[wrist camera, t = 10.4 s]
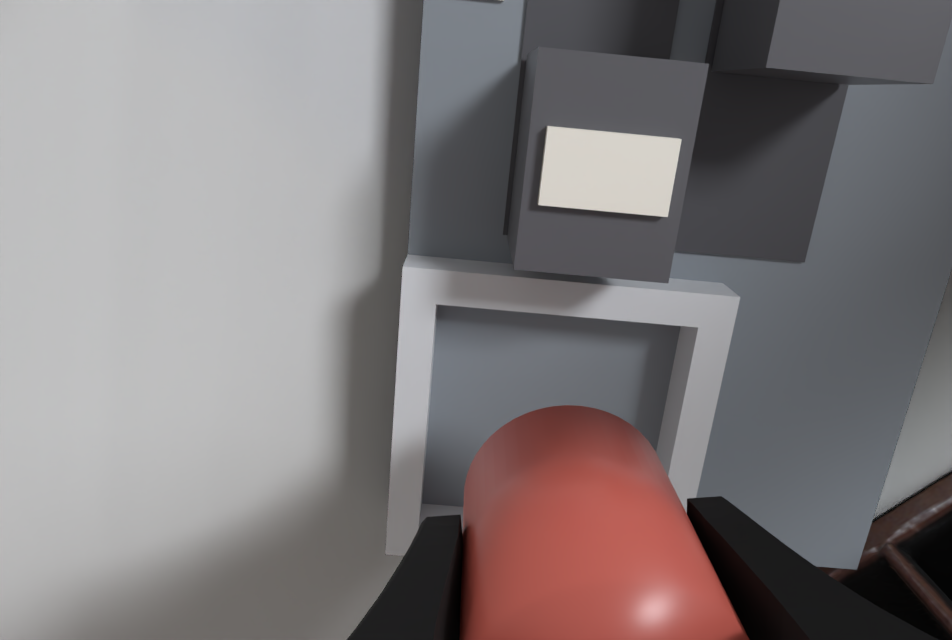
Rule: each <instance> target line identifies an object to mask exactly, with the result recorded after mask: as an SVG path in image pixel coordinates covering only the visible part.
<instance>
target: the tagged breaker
mask: <svg viewBox="0 0 952 640" xmlns="http://www.w3.org/2000/svg"><path fill="white" fill-rule="evenodd" d="M708 68H709V64H707V63H697V62H687V61H677V60H667V59H657V58H647V57H637V56H627V55H617V54H607V53H597V52H587V51H577V50H567V49H557V48H546V47H538V48H536V49H535V50H533V51H532V52H530V53H529V54H527V59H526V69H525V78H524V87H523V96H522V106H521V115H520V124H519V133H518V143H517V152H516V161H515V170H514V180H513V189H512V198H511V207H510V217H509V226H508V235H507V239H508V244H509V249H510V254H511V259H512V264H513V269H514V270H524V271H535V272H546V273H557V274H568V275H579V276H590V277H601V278H612V279H623V280H634V281H646V282H657V283H669V277H670V272H671V267H672V261H673V256H674V251H675V245H676V240H677V234H678V229H679V224H680V218H681V213H682V208H683V202H684V197H685V191H686V186H687V181H688V175H689V170H690V165H691V159H692V154H693V148H694V143H695V138H696V132H697V127H698V121H699V116H700V111H701V105H702V100H703V95H704V89H705V84H706V78H707V73H708Z"/></svg>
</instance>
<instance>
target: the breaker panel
mask: <svg viewBox="0 0 952 640" xmlns="http://www.w3.org/2000/svg"><path fill="white" fill-rule="evenodd" d="M724 1H725V0H424V3H423V18H422V34H421V50H420V66H419V82H418V98H417V114H416V130H415V146H414V162H413V177H412V193H411V209H410V225H409V241H408V255H407V257H406V260H405V262H404V265H403V268H402V284H401V301H400V317H399V334H398V350H397V367H396V383H395V399H394V416H393V432H392V449H391V465H390V481H389V498H388V514H387V531H386V547H385V555H397V556H405V554H406V552H407V550H408V548H409V547H410V545H411V543H412V541H413V539H414V537H415V535H416V533H417V531H418V529H419V527H420V525H421V523H422V522H423V521H424V520H425V518H426V517H432V516H446V515H460V514H461V524H462V534H463V505H464V486H465V481H466V476H467V473H468V470H469V468H470V465H471V463H472V461H473V459H474V457H475V455H476V453H477V452H478V451H479V449H480V448H481V447H482V445H483V444H484V443H485V442H486V441H487V439H488V438H489V437H490V436H491V435H492V434H493V433H495V432H496V431H497V430H498V429H500V428H501V427H502V426H503V425H505V424H507V423H508V422H510V421H511V420H513V419H515V418H517V417H519V416H521V415H523V414H526V413H528V412H531V411H534V410H538V409H541V408H546V407H552V406H562V405H575V406H585V407H591V408H596V409H599V410H603V411H606V412H609V413H611V414H613V415H615V416H618V417H620V418H621V419H623V420H625V421H626V422H628V423H630V424H631V425H632V426H633V427H635V428H636V429H637V430H638V431H640V432H641V433H642V435H643V436H644V437H645V438H646V439H647V440H648V441H649V442H650V444H651V445H652V447H653V448H654V450H655V451H656V453H657V455H658V457H659V459H660V461H661V463H662V465H663V467H664V469H665V471H666V473H667V475H668V477H669V479H670V481H671V483H672V485H673V487H674V489H675V491H676V493H677V495H678V497H679V499H680V501H681V503H682V505H683V507H684V509H685V511H686V513H687V499H688V498H702V497H716V496H722V497H723V498H725V499H726V500H728V501H729V502H730V503H732V504H733V505H734V506H736V507H737V508H738V509H739V510H741V511H742V512H743V513H745V514H746V515H747V516H749V517H750V518H751V519H752V520H754V521H755V522H756V523H758V524H759V525H760V526H761V527H763V528H764V529H765V530H767V531H768V532H769V533H771V534H772V535H773V536H775V537H776V538H777V539H779V540H780V541H781V542H783V543H784V544H785V545H787V546H788V547H789V548H791V549H792V550H793V551H795V552H796V553H798V554H799V555H800V556H802V557H803V558H804V559H806V560H807V561H809V562H810V563H812V564H813V565H814V566H816V567H829V568H841V569H854V570H857V568H858V565H859V561H860V558H861V555H862V552H863V549H864V546H865V543H866V539H867V536H868V533H869V530H870V527H871V524H872V520H873V517H874V514H875V511H876V508H877V505H878V501H879V498H880V495H881V492H882V489H883V486H884V483H885V479H886V476H887V473H888V470H889V467H890V464H891V460H892V457H893V454H894V451H895V448H896V445H897V441H898V438H899V435H900V432H901V429H902V426H903V423H904V419H905V416H906V413H907V410H908V407H909V404H910V400H911V397H912V394H913V391H914V388H915V385H916V381H917V378H918V375H919V372H920V369H921V366H922V363H923V359H924V356H925V353H926V350H927V347H928V344H929V340H930V337H931V334H932V331H933V328H934V325H935V321H936V318H937V315H938V312H939V309H940V306H941V302H942V299H943V296H944V293H945V290H946V287H947V284H948V280H949V277H950V274H951V271H952V20H951V23H950V27H949V30H948V34H947V38H946V41H945V45H944V48H943V52H942V55H941V59H940V62H939V66H938V69H937V73H936V76H935V80H934V83H933V84H893V85H844V84H834V83H824V82H814V81H803V80H793V79H783V78H773V77H763V76H753V75H743V74H733V73H723V72H713V71H711V70H712V65H713V59H714V54H715V49H716V43H717V38H718V33H719V27H720V22H721V17H722V11H723V6H724ZM538 47H546V48H557V49H567V50H577V51H587V52H597V53H607V54H617V55H627V56H637V57H647V58H657V59H667V60H677V61H687V62H697V63H707V64H709V68H708V73H707V78H706V84H705V89H704V95H703V100H702V105H701V111H700V116H699V121H698V127H697V132H696V138H695V143H694V148H693V154H692V159H691V165H690V170H689V175H688V181H687V186H686V191H685V197H684V202H683V208H682V213H681V218H680V224H679V229H678V234H677V240H676V245H675V251H674V256H673V261H672V267H671V272H670V277H669V283H657V282H646V281H634V280H623V279H612V278H601V277H590V276H579V275H568V274H557V273H546V272H535V271H524V270H514V269H513V264H512V259H511V254H510V249H509V244H508V239H507V235H508V226H509V217H510V207H511V198H512V189H513V180H514V170H515V161H516V152H517V143H518V133H519V124H520V115H521V106H522V96H523V87H524V78H525V69H526V59H527V54H529V53H530V52H532V51H533V50H535V49H536V48H538Z"/></svg>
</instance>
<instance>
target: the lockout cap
mask: <svg viewBox="0 0 952 640" xmlns="http://www.w3.org/2000/svg"><path fill="white" fill-rule="evenodd" d="M459 640H750V639H749V637H748V635H747V633H746V631H745V629H744V627H743V625H742V623H741V621H740V619H739V617H738V615H737V613H736V611H735V609H734V607H733V605H732V603H731V601H730V599H729V597H728V595H727V593H726V591H725V589H724V587H723V585H722V583H721V581H720V579H719V577H718V575H717V573H716V571H715V569H714V567H713V565H712V563H711V561H710V559H709V557H708V555H707V553H706V551H705V549H704V547H703V545H702V543H701V541H700V539H699V537H698V535H697V533H696V531H695V529H694V527H693V525H692V523H691V521H690V519H689V517H688V515H687V513H686V511H685V509H684V507H683V505H682V503H681V501H680V499H679V497H678V495H677V493H676V491H675V489H674V487H673V485H672V483H671V481H670V479H669V477H668V475H667V473H666V471H665V469H664V467H663V465H662V463H661V461H660V459H659V457H658V455H657V453H656V451H655V450H654V448H653V447H652V445H651V444H650V442H649V441H648V440H647V439H646V438H645V437H644V436H643V435H642V433H641V432H640V431H638V430H637V429H636V428H635V427H633V426H632V425H631V424H630V423H628V422H626V421H625V420H623V419H621V418H620V417H618V416H615V415H613V414H611V413H609V412H606V411H603V410H599V409H596V408H591V407H585V406H575V405H562V406H552V407H546V408H541V409H538V410H534V411H531V412H528V413H526V414H523V415H521V416H519V417H517V418H515V419H513V420H511V421H510V422H508V423H507V424H505V425H503V426H502V427H501V428H500V429H498V430H497V431H496V432H495V433H493V434H492V435H491V436H490V437H489V438H488V439H487V441H486V442H485V443H484V444H483V445H482V447H481V448H480V449H479V451H478V452H477V453H476V455H475V457H474V459H473V461H472V463H471V465H470V468H469V470H468V473H467V476H466V481H465V486H464V505H463V544H462V575H461V601H460V633H459Z"/></svg>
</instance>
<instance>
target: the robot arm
mask: <svg viewBox="0 0 952 640" xmlns="http://www.w3.org/2000/svg"><path fill="white" fill-rule="evenodd" d="M687 515H688V517H689V519H690V521H691V523H692V525H693V527H694V529H695V531H696V533H697V535H698V537H699V539H700V541H701V543H702V545H703V547H704V549H705V551H706V553H707V555H708V557H709V559H710V561H711V563H712V565H713V567H714V569H715V571H716V573H717V575H718V577H719V579H720V581H721V583H722V585H723V587H724V589H725V591H726V593H727V595H728V597H729V599H730V601H731V603H732V605H733V607H734V609H735V611H736V613H737V615H738V617H739V619H740V621H741V623H742V625H743V627H744V629H745V631H746V633H747V635H748V637H749V639H750V640H938V639H936V638H934V637H933V636H931V635H929V634H927V633H925V632H923V631H921V630H919V629H917V628H916V627H914V626H912V625H910V624H908V623H907V622H905V621H903V620H901V619H899V618H897V617H896V616H894V615H892V614H890V613H888V612H887V611H885V610H883V609H881V608H880V607H878V606H876V605H875V604H873V603H871V602H870V601H868V600H866V599H865V598H863V597H861V596H860V595H858V594H857V593H855V592H854V591H852V590H851V589H849V588H847V587H846V586H844V585H843V584H841V583H840V582H838V581H837V580H835V579H834V578H832V577H830V576H829V575H827V574H826V573H825V572H823V571H822V570H820V569H819V568H817V567H816V566H814V565H813V564H812V563H810V562H809V561H807V560H806V559H804V558H803V557H802V556H800V555H799V554H798V553H796V552H795V551H793V550H792V549H791V548H789V547H788V546H787V545H785V544H784V543H783V542H781V541H780V540H779V539H777V538H776V537H775V536H773V535H772V534H771V533H769V532H768V531H767V530H765V529H764V528H763V527H761V526H760V525H759V524H758V523H756V522H755V521H754V520H752V519H751V518H750V517H749V516H747V515H746V514H745V513H743V512H742V511H741V510H739V509H738V508H737V507H736V506H734V505H733V504H732V503H730V502H729V501H728V500H726V499H725V498H723V497H722V496H716V497H702V498H688V499H687ZM462 544H463V534H462V524H461V514H460V515H446V516H432V517H426V518H425V520H424V521H423V522H422V523H421V525H420V527H419V529H418V531H417V533H416V535H415V537H414V539H413V541H412V543H411V545H410V547H409V548H408V550H407V552H406V554H405V556H404V557H403V559H402V561H401V563H400V564H399V566H398V567H397V569H396V571H395V572H394V574H393V575H392V577H391V579H390V580H389V582H388V583H387V585H386V587H385V588H384V590H383V591H382V593H381V594H380V596H379V597H378V599H377V600H376V601H375V603H374V604H373V606H372V607H371V608H370V610H369V611H368V612H367V614H366V615H365V617H364V618H363V619H362V621H361V622H360V623H359V625H358V626H357V628H356V629H355V630H354V631H353V633H352V634H351V635H350V636H349V638H348V639H347V640H459V633H460V601H461V575H462Z"/></svg>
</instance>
